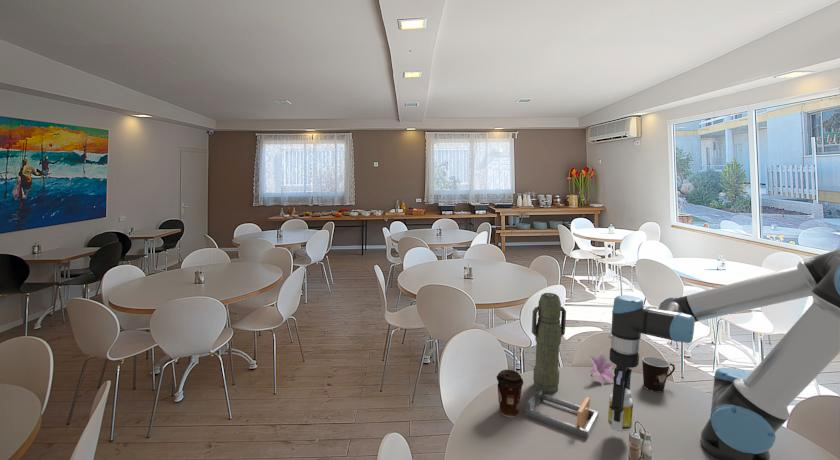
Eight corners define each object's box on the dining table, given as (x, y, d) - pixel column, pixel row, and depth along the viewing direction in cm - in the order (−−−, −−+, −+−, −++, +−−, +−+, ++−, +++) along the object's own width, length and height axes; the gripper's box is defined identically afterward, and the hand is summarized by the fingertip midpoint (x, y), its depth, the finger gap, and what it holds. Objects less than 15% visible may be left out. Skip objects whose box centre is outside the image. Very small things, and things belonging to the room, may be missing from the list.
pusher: (588, 416, 125) (589, 397, 124) (580, 431, 117) (581, 412, 116) (548, 402, 133) (549, 385, 132) (537, 415, 125) (538, 397, 124)
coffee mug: (643, 391, 141) (645, 365, 140) (637, 379, 149) (639, 355, 148) (680, 396, 137) (682, 369, 136) (672, 384, 146) (674, 359, 144)
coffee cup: (491, 414, 126) (492, 376, 124) (499, 402, 133) (500, 366, 131) (518, 422, 122) (520, 383, 120) (524, 409, 129) (526, 372, 127)
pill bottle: (634, 433, 111) (637, 396, 110) (611, 430, 112) (613, 394, 111) (627, 420, 117) (629, 385, 116) (605, 418, 118) (607, 383, 117)
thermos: (525, 382, 146) (528, 292, 142) (553, 379, 149) (558, 290, 144) (536, 395, 138) (540, 299, 133) (566, 391, 140) (571, 297, 136)
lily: (583, 386, 146) (596, 370, 141) (575, 361, 156) (587, 346, 151) (612, 395, 147) (626, 379, 142) (602, 370, 157) (615, 355, 152)
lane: (598, 417, 125) (599, 405, 124) (587, 438, 114) (588, 425, 114) (540, 397, 136) (540, 386, 135) (525, 414, 126) (526, 403, 125)
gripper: (617, 336, 122) (612, 405, 125) (602, 357, 107) (597, 435, 109) (644, 342, 117) (638, 413, 120) (633, 365, 102) (627, 446, 105)
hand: (619, 424), depth 115 cm, fingers closed on pill bottle, 6 cm apart
